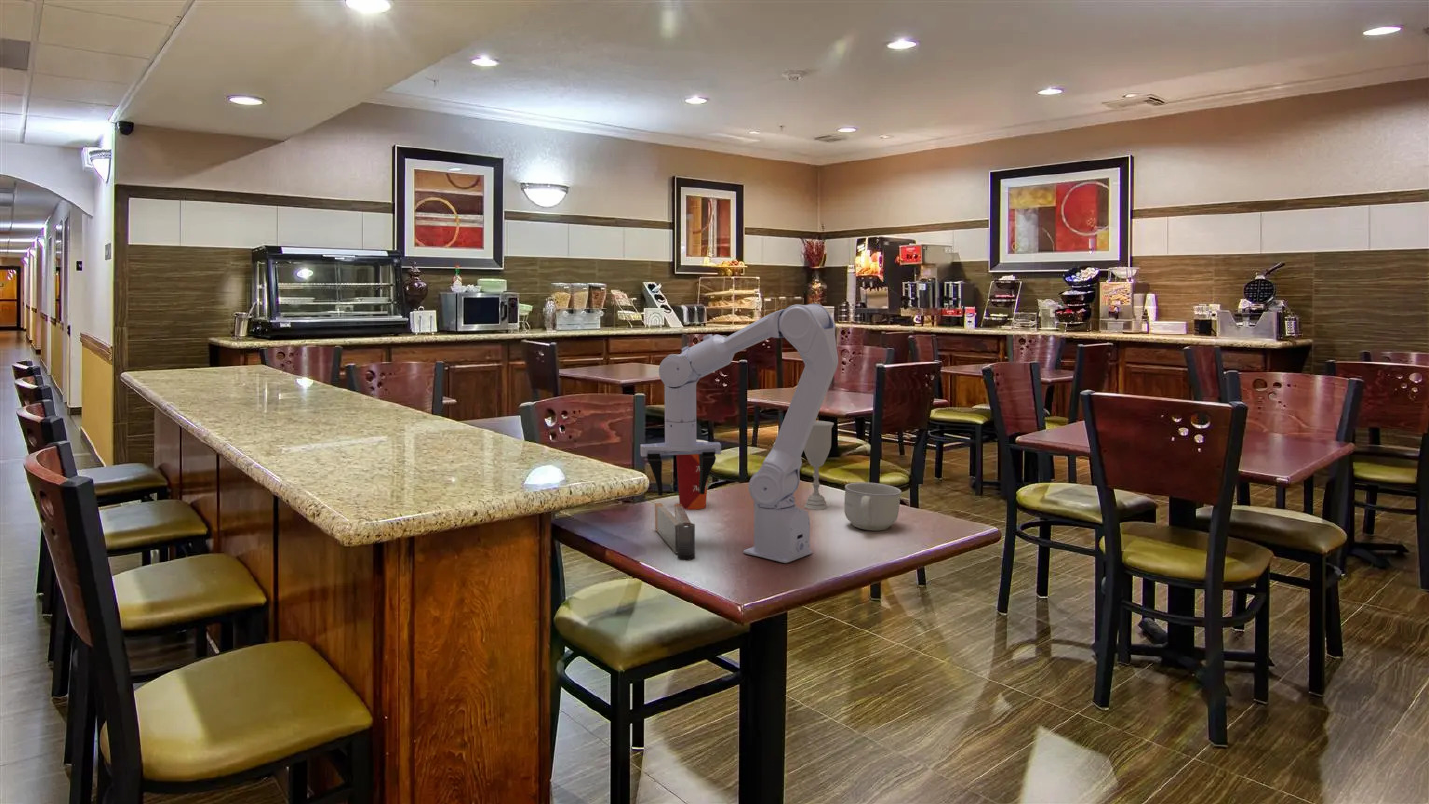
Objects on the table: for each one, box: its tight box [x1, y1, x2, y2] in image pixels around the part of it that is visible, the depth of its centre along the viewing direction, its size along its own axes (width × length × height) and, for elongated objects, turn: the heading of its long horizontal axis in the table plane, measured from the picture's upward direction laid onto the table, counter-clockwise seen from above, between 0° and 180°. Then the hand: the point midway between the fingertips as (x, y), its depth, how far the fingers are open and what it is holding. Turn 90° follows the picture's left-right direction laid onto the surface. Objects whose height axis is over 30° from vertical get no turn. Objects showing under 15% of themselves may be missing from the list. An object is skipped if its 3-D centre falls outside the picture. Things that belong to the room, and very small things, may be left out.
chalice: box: [803, 420, 835, 511], centre depth 192 cm, size 7×7×18 cm
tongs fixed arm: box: [674, 503, 696, 561], centre depth 166 cm, size 20×3×6 cm, turn 9°
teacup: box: [843, 481, 902, 532], centre depth 175 cm, size 14×11×8 cm
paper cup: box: [675, 439, 709, 511], centre depth 193 cm, size 8×8×14 cm
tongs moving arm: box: [654, 502, 680, 554], centre depth 167 cm, size 17×1×5 cm, turn 16°
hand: (681, 493), depth 166 cm, fingers open, 7 cm apart
